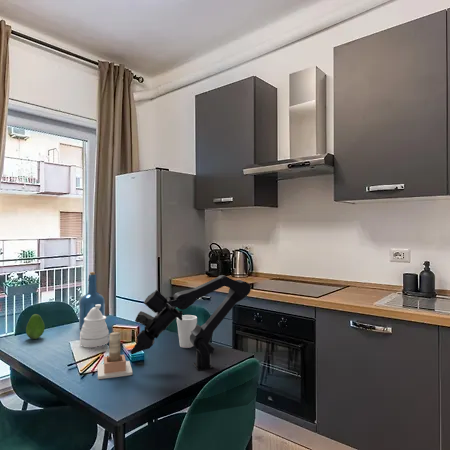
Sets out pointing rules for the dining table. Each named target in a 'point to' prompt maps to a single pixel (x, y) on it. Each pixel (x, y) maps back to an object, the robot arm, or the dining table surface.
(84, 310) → the wine bottle
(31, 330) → the fruit
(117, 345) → the tan wooden cylinder
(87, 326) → the honey pot
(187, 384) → the dining table surface
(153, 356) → the dining table surface
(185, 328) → the foam cup
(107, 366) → the tan box on base
